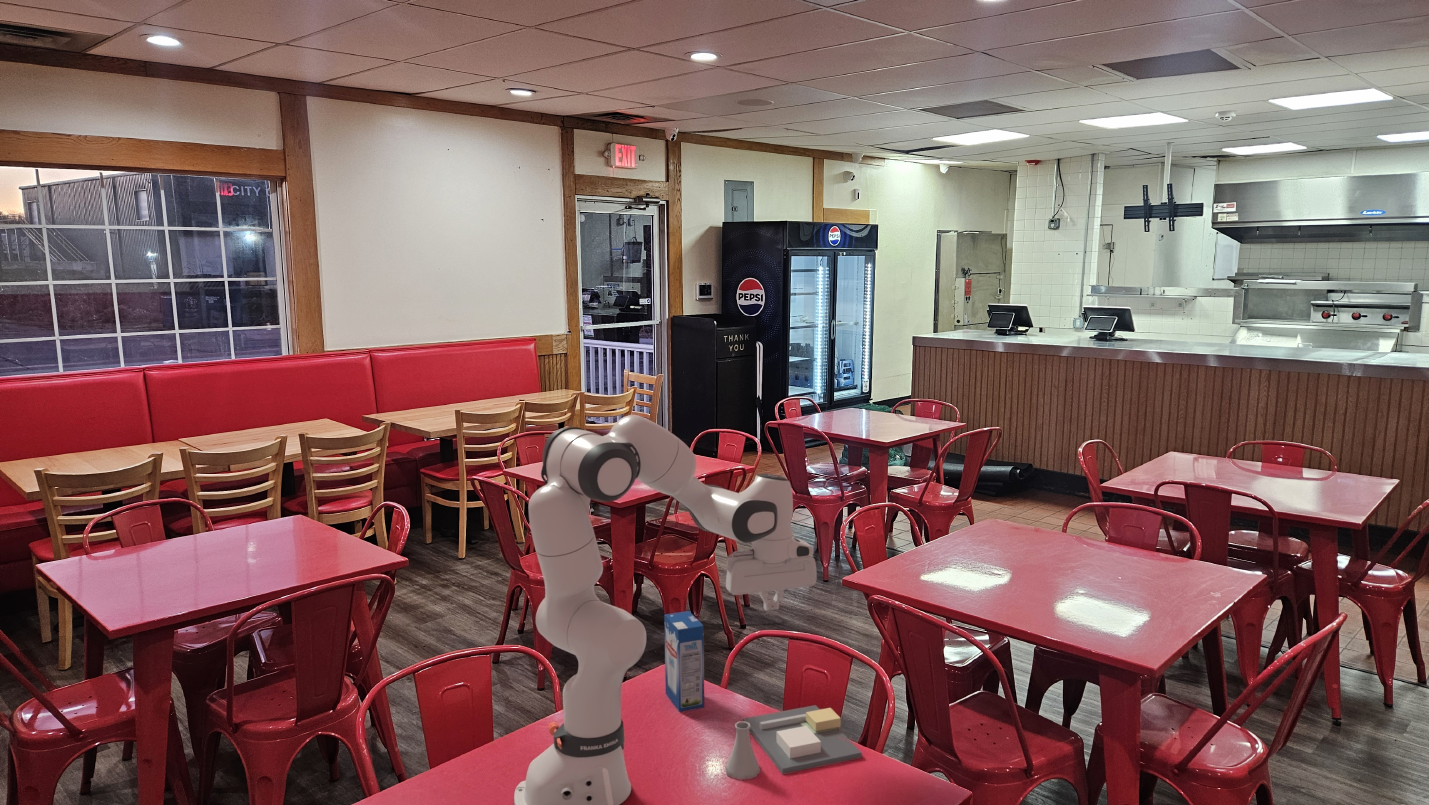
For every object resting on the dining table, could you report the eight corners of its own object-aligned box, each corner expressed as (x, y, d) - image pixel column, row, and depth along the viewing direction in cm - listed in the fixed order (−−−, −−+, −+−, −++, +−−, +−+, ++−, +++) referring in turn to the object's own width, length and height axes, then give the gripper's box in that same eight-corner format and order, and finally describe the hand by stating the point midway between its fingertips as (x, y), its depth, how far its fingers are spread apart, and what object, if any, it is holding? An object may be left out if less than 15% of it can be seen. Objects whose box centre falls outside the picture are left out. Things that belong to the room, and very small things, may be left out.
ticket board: (782, 774, 184) (782, 757, 183) (743, 723, 204) (743, 708, 204) (861, 757, 190) (861, 741, 189) (815, 710, 210) (815, 695, 210)
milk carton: (704, 707, 212) (703, 625, 209) (679, 712, 210) (678, 629, 207) (689, 689, 221) (688, 610, 218) (665, 693, 219) (664, 614, 216)
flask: (757, 782, 181) (757, 735, 180) (722, 778, 183) (721, 732, 181) (763, 763, 188) (763, 718, 187) (728, 759, 190) (728, 714, 188)
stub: (815, 731, 198) (815, 722, 197) (805, 720, 202) (806, 712, 202) (840, 726, 200) (840, 718, 199) (830, 716, 204) (830, 707, 204)
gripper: (731, 556, 190) (731, 619, 192) (820, 547, 197) (819, 608, 199) (721, 548, 196) (721, 609, 198) (808, 539, 203) (807, 599, 205)
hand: (771, 609), depth 199 cm, fingers closed
